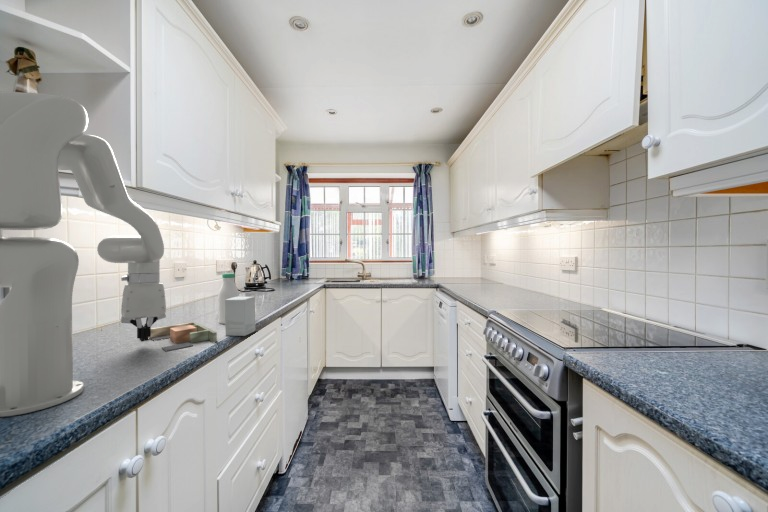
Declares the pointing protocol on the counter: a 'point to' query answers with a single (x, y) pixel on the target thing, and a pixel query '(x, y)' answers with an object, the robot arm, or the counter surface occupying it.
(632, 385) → the counter surface
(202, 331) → the green-grey pronged frame
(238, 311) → the supplement box
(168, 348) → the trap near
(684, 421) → the counter surface
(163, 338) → the plate
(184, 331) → the block
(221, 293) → the milk bottle
